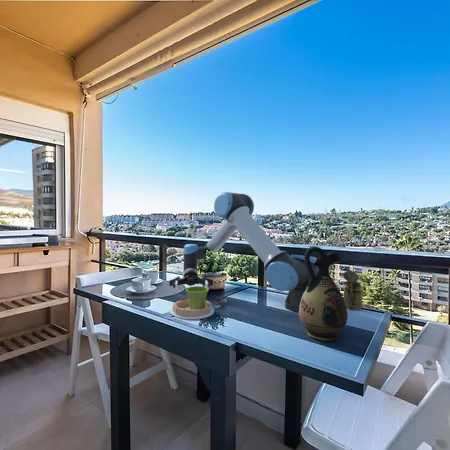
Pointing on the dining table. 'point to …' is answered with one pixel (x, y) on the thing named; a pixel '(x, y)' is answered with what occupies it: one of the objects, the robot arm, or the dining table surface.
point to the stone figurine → (352, 291)
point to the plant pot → (197, 296)
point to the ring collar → (191, 310)
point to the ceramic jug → (322, 299)
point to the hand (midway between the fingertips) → (191, 287)
